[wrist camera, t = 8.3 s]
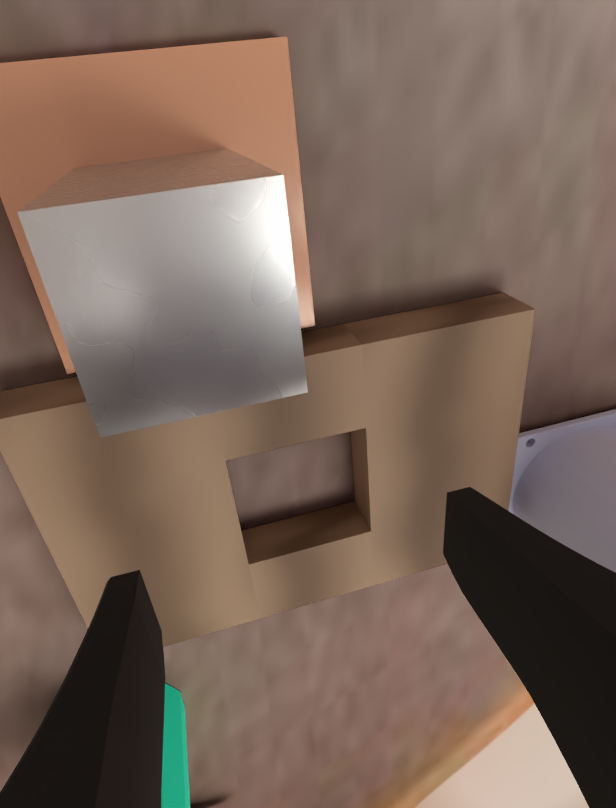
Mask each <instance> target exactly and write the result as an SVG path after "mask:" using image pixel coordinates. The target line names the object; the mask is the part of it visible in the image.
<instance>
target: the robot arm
mask: <svg viewBox="0 0 616 808" xmlns="http://www.w3.org/2000/svg"><path fill="white" fill-rule="evenodd" d="M529 439H530V440H529ZM528 440H529V441H528ZM527 441H528V442H527ZM443 555H444V557H445V559H446V561H447V563H448V565H449V567H450V569H451V571H452V573H453V575H454V577H455V579H456V581H457V583H458V585H459V587H460V589H461V591H462V592H463V594H464V596H465V597H466V599H467V600H468V602H469V603H470V605H471V606H472V608H473V609H474V611H475V612H476V614H477V615H478V617H479V618H480V620H481V621H482V623H483V624H484V626H485V627H486V629H487V630H488V632H489V633H490V635H491V636H492V638H493V639H494V641H495V642H496V643H497V645H498V646H499V648H500V649H501V651H502V652H503V654H504V655H505V657H506V658H507V660H508V661H509V663H510V664H511V666H512V667H513V669H514V670H515V672H516V673H517V675H518V676H519V678H520V679H521V681H522V683H523V684H524V686H525V687H526V689H527V691H528V692H529V694H530V696H531V697H532V699H533V701H534V703H535V705H536V706H537V708H538V710H539V711H540V713H541V716H542V717H543V719H544V721H545V723H546V724H547V727H548V728H549V730H550V732H551V734H552V736H553V737H554V739H555V741H556V743H557V745H558V747H559V749H560V751H561V753H562V755H563V757H564V758H565V760H566V762H567V764H568V766H569V768H570V770H571V772H572V774H573V776H574V778H575V779H576V781H577V783H578V785H579V788H580V790H581V792H582V794H583V796H584V798H585V800H586V802H587V804H588V806H589V808H616V409H614V410H610V411H606V412H602V413H598V414H594V415H590V416H586V417H582V418H578V419H574V420H570V421H566V422H562V423H558V424H554V425H550V426H546V427H542V428H538V429H534V430H530V431H526V432H522V433H519V436H518V443H517V451H516V458H515V466H514V473H513V481H512V488H511V495H510V503H509V510H506V509H505V508H503V507H501V506H500V505H498V504H497V503H495V502H494V501H492V500H490V499H489V498H487V497H486V496H484V495H483V494H481V493H479V492H478V491H476V490H475V489H473V488H471V487H467V488H463V489H459V490H455V491H451V492H447V496H446V512H445V528H444V544H443ZM164 703H165V667H164V653H163V641H162V630H161V627H160V625H159V622H158V619H157V616H156V614H155V611H154V608H153V605H152V602H151V600H150V597H149V594H148V591H147V589H146V586H145V583H144V580H143V577H142V575H141V572H140V570H137V571H133V572H129V573H125V574H121V575H117V576H113V577H110V579H109V580H108V581H107V583H106V586H105V588H104V591H103V594H102V596H101V599H100V601H99V604H98V606H97V609H96V611H95V614H94V616H93V618H92V621H91V623H90V625H89V628H88V630H87V632H86V635H85V637H84V639H83V641H82V643H81V646H80V648H79V650H78V652H77V654H76V656H75V658H74V661H73V663H72V665H71V667H70V669H69V671H68V673H67V675H66V677H65V679H64V681H63V683H62V685H61V687H60V689H59V691H58V693H57V695H56V697H55V699H54V700H53V702H52V704H51V706H50V708H49V710H48V712H47V714H46V716H45V717H44V719H43V721H42V723H41V725H40V727H39V729H38V730H37V732H36V734H35V736H34V737H33V739H32V741H31V743H30V744H29V746H28V748H27V749H26V751H25V753H24V754H23V756H22V758H21V760H20V761H19V763H18V764H17V766H16V768H15V769H14V771H13V773H12V774H11V776H10V777H9V779H8V781H7V782H6V784H5V785H4V787H3V789H2V790H1V792H0V808H161V787H162V759H163V732H164Z"/></svg>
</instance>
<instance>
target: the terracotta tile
mask: <svg viewBox="0 0 616 808" xmlns="http://www.w3.org/2000/svg"><path fill="white" fill-rule="evenodd" d="M224 148H228V149H230V150H232V151H234V152H236V153H238V154H241V155H243V156H245V157H247V158H249V159H251V160H253V161H255V162H258V163H260V164H262V165H264V166H266V167H268V168H270V169H273V170H275V171H277V172H279V173H281V174H283V175H284V183H285V192H286V201H287V210H288V218H289V227H290V236H291V245H292V254H293V263H294V272H295V281H296V290H297V299H298V308H299V317H300V326H301V328H305V327H310V326H315V319H314V309H313V298H312V288H311V277H310V267H309V257H308V246H307V236H306V226H305V215H304V205H303V195H302V184H301V174H300V164H299V153H298V143H297V133H296V122H295V112H294V101H293V91H292V81H291V70H290V60H289V50H288V39H287V36H286V37H275V38H264V39H253V40H243V41H232V42H221V43H210V44H200V45H189V46H178V47H167V48H157V49H146V50H135V51H124V52H114V53H103V54H92V55H81V56H70V57H60V58H49V59H38V60H27V61H17V62H6V63H0V197H1V200H2V203H3V205H4V208H5V211H6V213H7V216H8V219H9V221H10V224H11V226H12V229H13V232H14V234H15V237H16V240H17V242H18V245H19V248H20V250H21V253H22V256H23V258H24V261H25V264H26V266H27V269H28V271H29V274H30V277H31V279H32V282H33V285H34V287H35V290H36V293H37V295H38V298H39V301H40V303H41V306H42V309H43V311H44V314H45V316H46V319H47V322H48V324H49V327H50V330H51V332H52V335H53V338H54V340H55V343H56V346H57V348H58V351H59V353H60V356H61V359H62V361H63V364H64V367H65V369H66V372H67V374H70V373H75V372H76V371H75V368H74V366H73V363H72V360H71V357H70V355H69V352H68V349H67V347H66V344H65V341H64V338H63V336H62V333H61V330H60V328H59V325H58V322H57V319H56V317H55V314H54V311H53V308H52V306H51V303H50V300H49V298H48V295H47V292H46V289H45V287H44V284H43V281H42V279H41V276H40V273H39V270H38V268H37V265H36V262H35V259H34V257H33V254H32V251H31V249H30V246H29V243H28V240H27V238H26V235H25V232H24V230H23V227H22V224H21V221H20V219H19V216H18V213H17V212H18V211H19V210H21V209H22V208H23V207H25V206H26V205H27V204H28V203H30V202H31V201H32V200H34V199H35V198H36V197H38V196H39V195H40V194H42V193H43V192H44V191H45V190H47V189H48V188H49V187H51V186H52V185H53V184H55V183H56V182H57V181H59V180H60V179H61V178H62V177H64V176H65V175H66V174H68V173H69V172H70V171H72V170H73V169H74V168H77V167H84V166H92V165H100V164H108V163H115V162H123V161H131V160H139V159H146V158H154V157H162V156H170V155H177V154H185V153H193V152H201V151H208V150H216V149H224Z"/></svg>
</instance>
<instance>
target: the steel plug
mask: <svg viewBox="0 0 616 808" xmlns="http://www.w3.org/2000/svg"><path fill="white" fill-rule="evenodd" d="M17 213H18V216H19V219H20V221H21V224H22V227H23V230H24V232H25V235H26V238H27V240H28V243H29V246H30V249H31V251H32V254H33V257H34V259H35V262H36V265H37V268H38V270H39V273H40V276H41V279H42V281H43V284H44V287H45V289H46V292H47V295H48V298H49V300H50V303H51V306H52V308H53V311H54V314H55V317H56V319H57V322H58V325H59V328H60V330H61V333H62V336H63V338H64V341H65V344H66V347H67V349H68V352H69V355H70V357H71V360H72V363H73V366H74V368H75V371H76V374H77V377H78V379H79V382H80V385H81V387H82V390H83V393H84V396H85V398H86V401H87V404H88V406H89V409H90V412H91V415H92V417H93V420H94V423H95V426H96V428H97V431H98V434H99V436H100V438H101V437H106V436H111V435H115V434H120V433H124V432H129V431H134V430H138V429H143V428H147V427H152V426H157V425H161V424H166V423H170V422H175V421H179V420H184V419H189V418H193V417H198V416H202V415H207V414H212V413H216V412H221V411H225V410H230V409H234V408H239V407H244V406H248V405H253V404H257V403H262V402H267V401H271V400H276V399H280V398H285V397H289V396H294V395H299V394H303V393H308V388H307V379H306V370H305V361H304V352H303V343H302V334H301V326H300V317H299V308H298V299H297V290H296V281H295V272H294V263H293V254H292V245H291V236H290V227H289V218H288V210H287V201H286V192H285V183H284V175H283V174H281V173H279V172H277V171H275V170H273V169H270V168H268V167H266V166H264V165H262V164H260V163H258V162H255V161H253V160H251V159H249V158H247V157H245V156H243V155H241V154H238V153H236V152H234V151H232V150H230V149H228V148H224V149H216V150H208V151H201V152H193V153H185V154H177V155H170V156H162V157H154V158H146V159H139V160H131V161H123V162H115V163H108V164H100V165H92V166H84V167H77V168H74V169H73V170H72V171H70V172H69V173H68V174H66V175H65V176H64V177H62V178H61V179H60V180H59V181H57V182H56V183H55V184H53V185H52V186H51V187H49V188H48V189H47V190H45V191H44V192H43V193H42V194H40V195H39V196H38V197H36V198H35V199H34V200H32V201H31V202H30V203H28V204H27V205H26V206H25V207H23V208H22V209H21V210H19V211H18V212H17Z"/></svg>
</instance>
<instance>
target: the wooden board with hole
mask: <svg viewBox="0 0 616 808" xmlns="http://www.w3.org/2000/svg"><path fill="white" fill-rule="evenodd" d="M534 316H535V309H534V308H532V307H530V306H528V305H526V304H524V303H522V302H520V301H518V300H517V299H515V298H513V297H511V296H509V295H507V294H505V293H498V294H493V295H488V296H483V297H478V298H473V299H468V300H463V301H458V302H452V303H447V304H442V305H437V306H432V307H427V308H422V309H417V310H412V311H407V312H402V313H396V314H391V315H386V316H381V317H376V318H371V319H366V320H361V321H356V322H351V323H346V324H341V325H335V326H330V327H325V328H320V329H315V330H310V331H305V332H301V334H302V343H303V352H304V361H305V370H306V379H307V388H308V393H303V394H299V395H294V396H289V397H285V398H280V399H276V400H271V401H267V402H262V403H257V404H253V405H248V406H244V407H239V408H234V409H230V410H225V411H221V412H216V413H212V414H207V415H202V416H198V417H193V418H189V419H184V420H179V421H175V422H170V423H166V424H161V425H157V426H152V427H147V428H143V429H138V430H134V431H129V432H124V433H120V434H115V435H111V436H106V437H101V438H100V436H99V434H98V431H97V428H96V426H95V423H94V420H93V417H92V415H91V412H90V409H89V406H88V404H87V401H86V398H85V396H84V393H83V390H82V387H81V385H80V382H79V379H78V377H77V376H76V377H71V378H66V379H61V380H56V381H51V382H45V383H40V384H35V385H30V386H25V387H20V388H15V389H10V390H5V391H2V392H1V394H0V452H1V454H2V456H3V458H4V460H5V462H6V464H7V466H8V468H9V470H10V472H11V474H12V476H13V478H14V480H15V482H16V484H17V486H18V488H19V490H20V492H21V494H22V496H23V498H24V500H25V502H26V504H27V506H28V508H29V510H30V512H31V514H32V516H33V518H34V520H35V523H36V525H37V527H38V529H39V531H40V533H41V535H42V537H43V539H44V541H45V543H46V545H47V547H48V549H49V551H50V553H51V555H52V557H53V559H54V561H55V563H56V565H57V567H58V569H59V571H60V573H61V575H62V577H63V579H64V581H65V583H66V585H67V587H68V589H69V591H70V593H71V595H72V597H73V599H74V601H75V603H76V605H77V607H78V609H79V611H80V613H81V615H82V617H83V619H84V622H85V624H86V626H87V628H89V625H90V623H91V621H92V618H93V616H94V614H95V611H96V609H97V606H98V604H99V601H100V599H101V596H102V594H103V591H104V588H105V586H106V583H107V581H108V580H109V579H110V577H113V576H117V575H121V574H125V573H129V572H133V571H137V570H140V572H141V575H142V577H143V580H144V583H145V586H146V589H147V591H148V594H149V597H150V600H151V602H152V605H153V608H154V611H155V614H156V616H157V619H158V622H159V625H160V627H161V630H162V641H163V647H164V646H168V645H171V644H175V643H178V642H182V641H185V640H188V639H192V638H195V637H199V636H202V635H205V634H209V633H212V632H216V631H219V630H223V629H226V628H229V627H233V626H236V625H240V624H243V623H247V622H250V621H253V620H257V619H260V618H264V617H267V616H270V615H274V614H277V613H281V612H284V611H288V610H291V609H294V608H298V607H301V606H305V605H308V604H312V603H315V602H318V601H322V600H325V599H329V598H332V597H335V596H339V595H342V594H346V593H349V592H353V591H356V590H359V589H363V588H366V587H370V586H373V585H377V584H380V583H383V582H387V581H390V580H394V579H397V578H400V577H404V576H407V575H411V574H414V573H418V572H421V571H424V570H428V569H431V568H435V567H438V566H442V565H445V564H448V563H447V561H446V559H445V557H444V555H443V544H444V528H445V512H446V496H447V492H451V491H455V490H459V489H463V488H467V487H471V488H473V489H475V490H476V491H478V492H479V493H481V494H483V495H484V496H486V497H487V498H489V499H490V500H492V501H494V502H495V503H497V504H498V505H500V506H501V507H503V508H505V509H506V510H509V503H510V495H511V488H512V481H513V473H514V466H515V458H516V451H517V443H518V436H519V428H520V421H521V413H522V406H523V398H524V391H525V383H526V376H527V368H528V361H529V354H530V346H531V339H532V331H533V324H534ZM346 432H350V433H351V448H352V463H353V478H354V493H355V501H353V502H349V503H345V504H342V505H338V506H334V507H330V508H326V509H322V510H318V511H315V512H311V513H307V514H303V515H299V516H295V517H292V518H288V519H284V520H280V521H276V522H272V523H269V524H265V525H261V526H257V527H253V528H249V529H245V530H242V531H241V527H240V523H239V518H238V514H237V509H236V505H235V500H234V496H233V491H232V487H231V482H230V478H229V474H228V469H227V465H226V461H227V460H231V459H236V458H240V457H244V456H248V455H253V454H257V453H261V452H265V451H270V450H274V449H278V448H282V447H287V446H291V445H295V444H299V443H304V442H308V441H312V440H316V439H321V438H325V437H329V436H333V435H338V434H342V433H346Z"/></svg>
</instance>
